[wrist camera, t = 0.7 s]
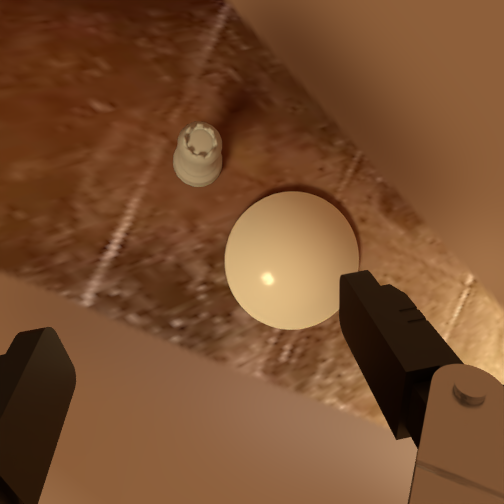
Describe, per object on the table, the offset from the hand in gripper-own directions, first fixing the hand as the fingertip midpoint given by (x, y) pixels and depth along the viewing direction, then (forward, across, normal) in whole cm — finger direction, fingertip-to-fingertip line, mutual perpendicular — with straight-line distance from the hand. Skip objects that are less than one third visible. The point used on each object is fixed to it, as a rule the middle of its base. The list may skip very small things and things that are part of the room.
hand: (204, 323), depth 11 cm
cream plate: (+22, -7, +13) cm, 26 cm away
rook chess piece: (+26, 0, +3) cm, 26 cm away
